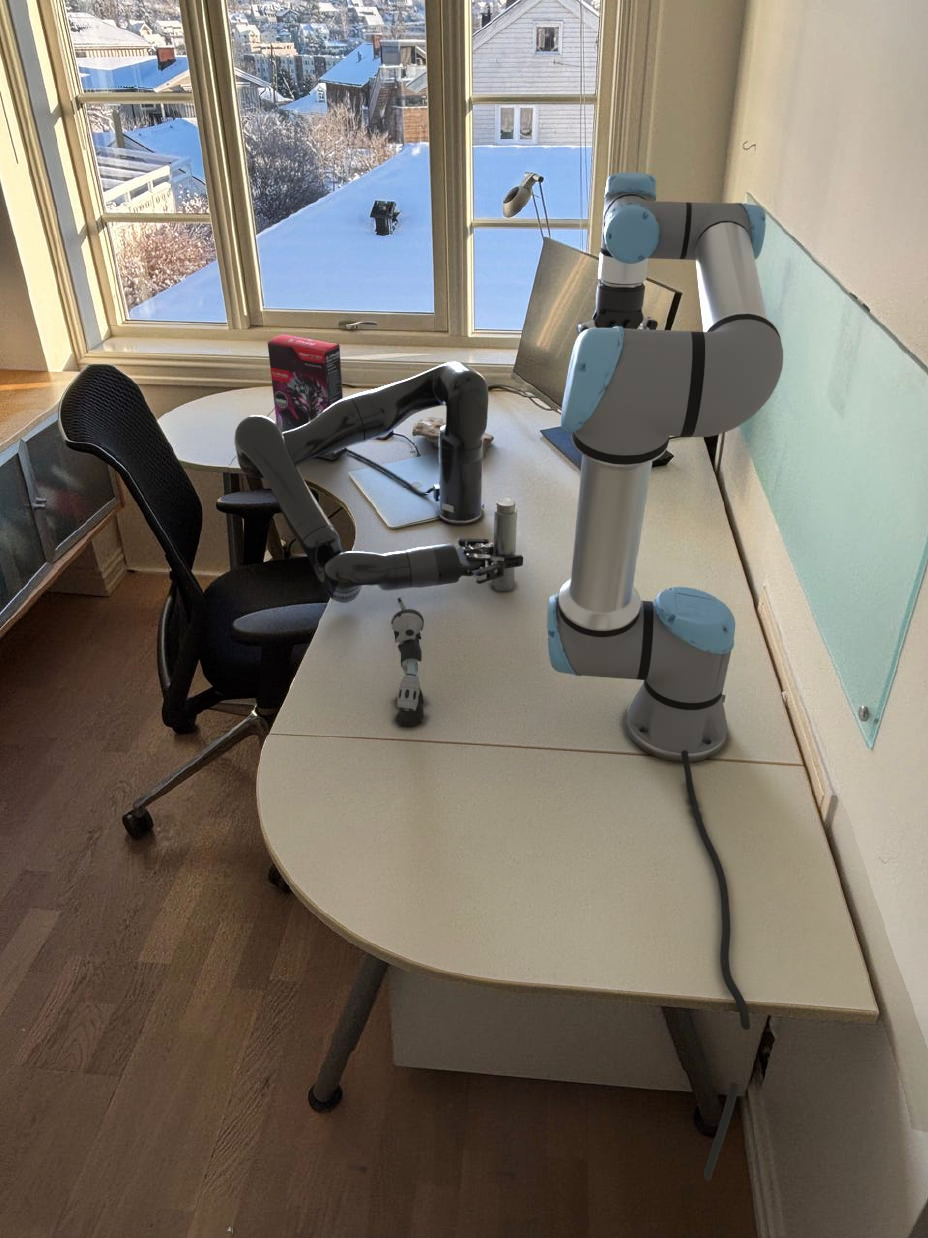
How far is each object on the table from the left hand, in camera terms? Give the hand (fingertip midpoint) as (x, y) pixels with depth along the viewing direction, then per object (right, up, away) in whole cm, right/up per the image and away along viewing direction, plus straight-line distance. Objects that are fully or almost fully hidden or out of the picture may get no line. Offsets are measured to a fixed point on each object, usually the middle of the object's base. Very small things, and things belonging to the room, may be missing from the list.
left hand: (517, 553), depth 175 cm
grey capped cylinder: (-3, -6, +3) cm, 7 cm away
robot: (-19, -27, -29) cm, 44 cm away
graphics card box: (-48, +30, +55) cm, 79 cm away
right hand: (+14, +21, -17) cm, 31 cm away
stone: (-14, +31, +58) cm, 67 cm away
